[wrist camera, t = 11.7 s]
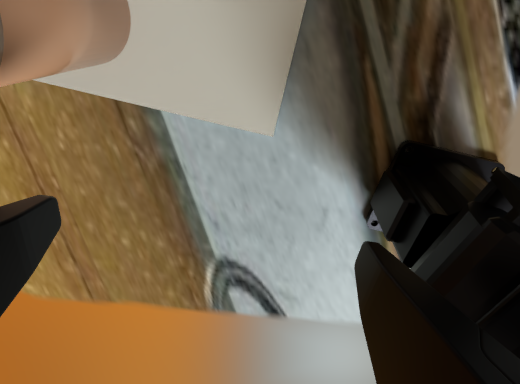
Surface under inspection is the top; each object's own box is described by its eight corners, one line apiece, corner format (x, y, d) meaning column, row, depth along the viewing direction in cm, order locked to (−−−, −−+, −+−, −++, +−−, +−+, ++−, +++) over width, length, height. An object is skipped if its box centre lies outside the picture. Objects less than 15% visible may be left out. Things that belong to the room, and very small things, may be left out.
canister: (109, -67, 16) (-121, -178, 7) (146, 58, 18) (13, 92, 10) (8, -43, 17) (-310, -115, 8) (57, 73, 19) (-139, 117, 10)
